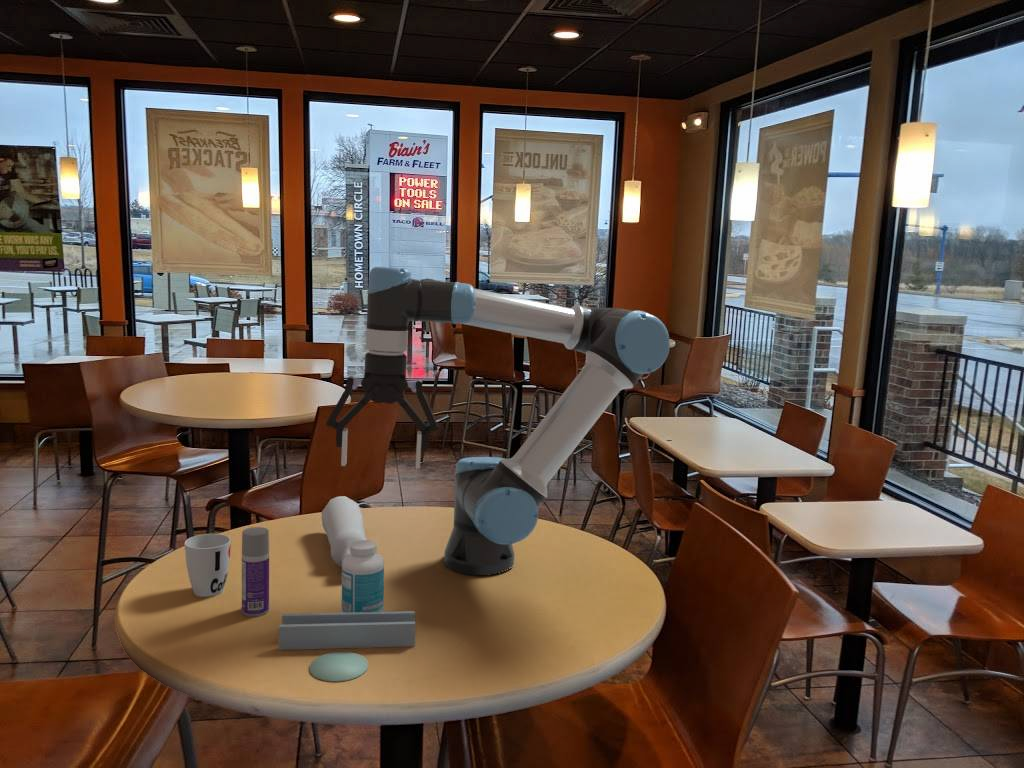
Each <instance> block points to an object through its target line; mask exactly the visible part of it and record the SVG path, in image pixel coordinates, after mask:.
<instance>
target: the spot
mask: <svg viewBox="0 0 1024 768" xmlns="http://www.w3.org/2000/svg"><path fill="white" fill-rule="evenodd" d="M368 668H369V662H368V660H367V658H366V657H365V656H362V655H361V654H358V653H355V652H349V651H336V652H335V651H334V652H329V653H326V654H322V655H320V656H319V657H316V658H315V659H313V660H312V661H311V663H310V665H309V672H310V674H311V675H312V676H313V677H314V678H316V679H318V680H320V681H324V682H332V683H337V682H338V683H341V682H348V681H352V680H354V679H357V678H359V677H361V676H362V675H364V674H365V673H366V672H367V671H368Z"/></svg>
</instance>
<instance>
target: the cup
mask: <svg viewBox="0 0 1024 768" xmlns="http://www.w3.org/2000/svg"><path fill="white" fill-rule="evenodd" d="M231 545H232V538H231V537H230V535H229V536H228V535H225V534H222V533H221V534H220V533H205V534H198V535H195V536H191V537H188V538H187V539H186V540H185V541H184V551H185V554H184V555H185V564H186V568H187V574H188V578H189V583H190V585H191V588H192V590H193V593H194V595H195V596H196V597H198V598H199V597H200V598H211V597H214V596H218V595H220V594H222V593H223V592H224V589H225V585H226V582H227V578H228V573H229V567H230V562H231V547H232V546H231Z"/></svg>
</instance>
